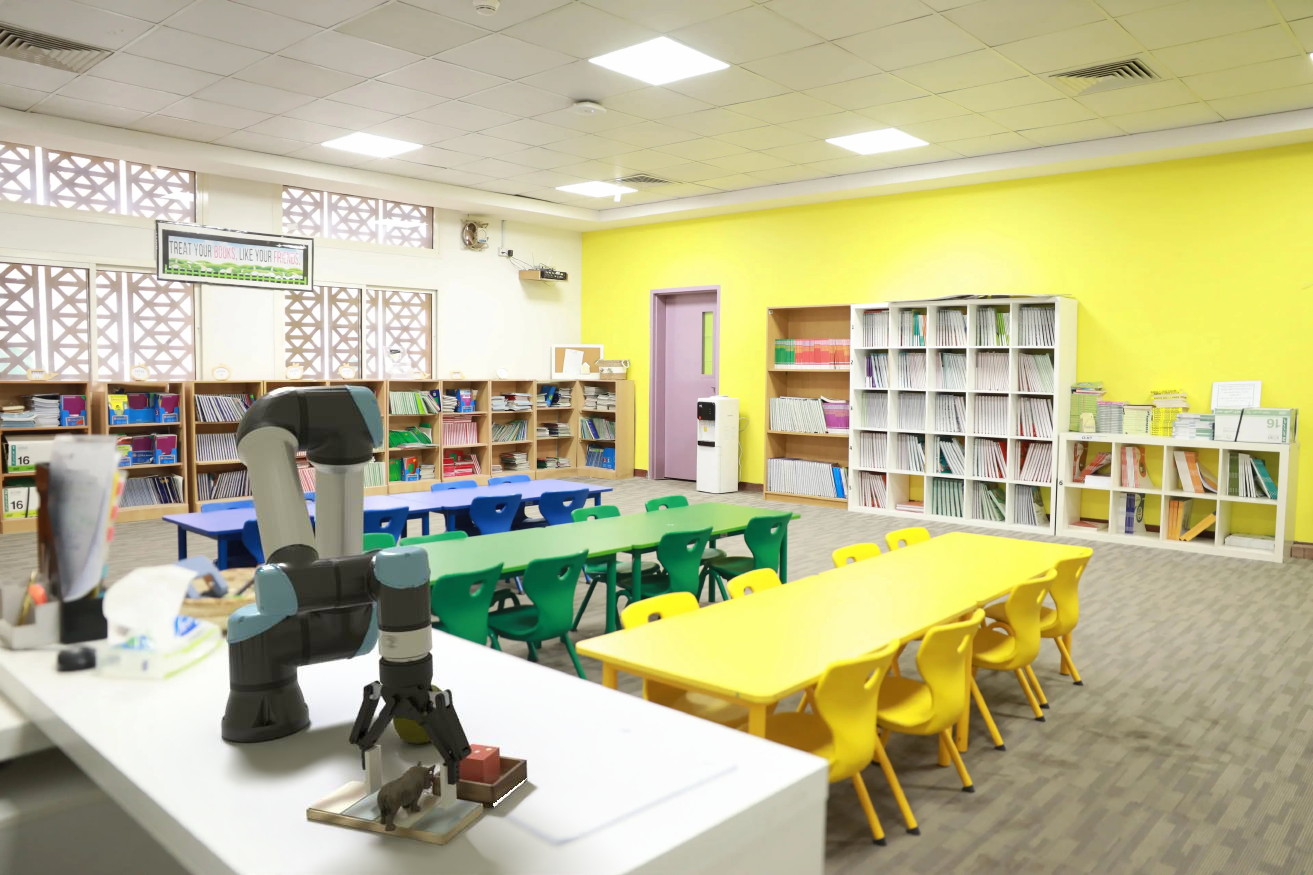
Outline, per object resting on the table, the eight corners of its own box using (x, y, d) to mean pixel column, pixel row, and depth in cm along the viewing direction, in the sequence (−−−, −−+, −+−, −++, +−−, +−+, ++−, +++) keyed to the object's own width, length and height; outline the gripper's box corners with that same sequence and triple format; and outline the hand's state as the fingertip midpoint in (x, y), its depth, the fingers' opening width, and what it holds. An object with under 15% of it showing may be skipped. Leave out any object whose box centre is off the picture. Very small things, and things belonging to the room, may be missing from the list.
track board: (306, 817, 131) (306, 808, 131) (352, 787, 140) (352, 779, 140) (443, 844, 122) (443, 834, 122) (483, 811, 132) (482, 802, 132)
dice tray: (432, 797, 137) (431, 776, 136) (468, 770, 146) (467, 750, 146) (494, 808, 133) (493, 786, 132) (527, 779, 142) (526, 759, 142)
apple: (396, 755, 152) (393, 693, 152) (389, 735, 161) (387, 676, 161) (454, 745, 156) (452, 684, 156) (445, 726, 165) (442, 668, 165)
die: (456, 787, 138) (454, 756, 137) (472, 773, 142) (471, 743, 142) (484, 791, 136) (483, 760, 136) (500, 777, 141) (499, 747, 140)
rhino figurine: (447, 790, 136) (446, 751, 135) (395, 834, 123) (393, 791, 122) (424, 786, 137) (423, 748, 137) (369, 829, 124) (368, 788, 124)
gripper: (319, 653, 130) (326, 796, 131) (463, 670, 121) (468, 822, 122) (354, 639, 137) (360, 774, 138) (492, 654, 128) (497, 798, 129)
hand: (411, 797), depth 130 cm, fingers open, 12 cm apart
